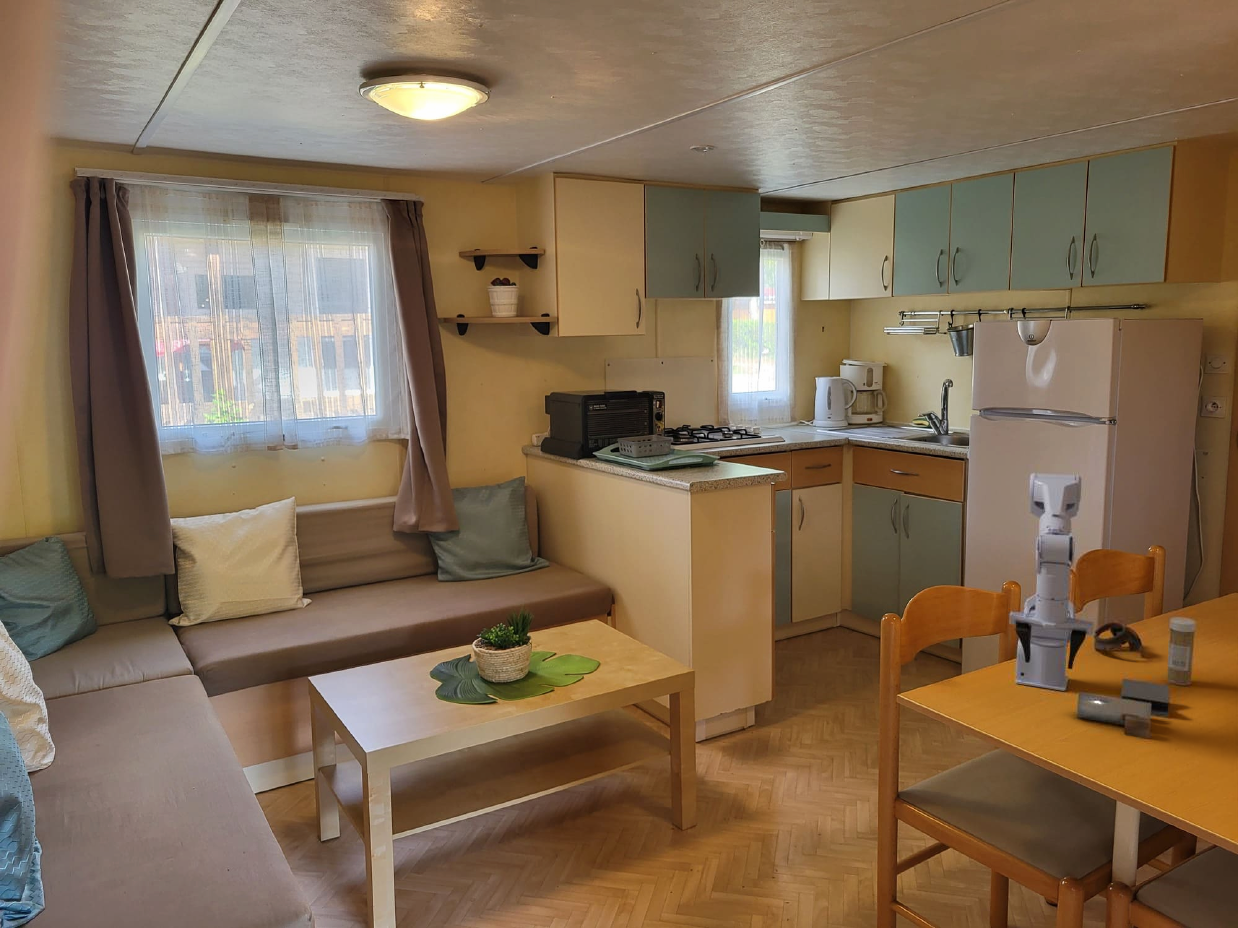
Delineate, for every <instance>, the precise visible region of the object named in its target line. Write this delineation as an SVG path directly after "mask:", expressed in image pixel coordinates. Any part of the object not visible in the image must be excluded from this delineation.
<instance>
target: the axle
mask: <svg viewBox="0 0 1238 928" xmlns="http://www.w3.org/2000/svg"><path fill="white" fill-rule="evenodd" d="M1076 707H1077V710H1076V711H1077V712H1076V718H1078V719H1085V720H1091V721H1096V722H1101V723H1108V724H1113V725H1117V726H1118V725H1120V726H1124V727H1125V716H1126V715H1128V716H1134V717H1140V718H1146V719H1151V716H1152V715H1151V704H1150V703H1144V702H1138V701H1132V700H1126V699H1121V697H1113V696H1106V695H1102V694H1101V695H1100V694H1093V693H1088V692H1082V691H1079V692H1078V698H1077V706H1076Z"/></svg>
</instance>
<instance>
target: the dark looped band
mask: <svg viewBox="0 0 1238 928" xmlns="http://www.w3.org/2000/svg"><path fill="white" fill-rule="evenodd" d="M1108 630H1109V631H1110V633H1111V635H1112V637H1108V638H1102V637H1100V635H1101V634H1103V633H1104V632H1106V631H1108ZM1093 635H1094V636H1093V639H1094V640H1093V641H1094V642H1093V647H1094V650H1095V651H1096V652H1098V651H1099V650H1101V651H1107V650H1108V651H1110V650H1116V649H1117V650H1120V651H1123V647H1122V646H1124V645H1126V644H1127V643H1128V647H1129V650H1130V651H1137V652H1139V653H1140V658H1141V659H1143V658H1145V654H1144V646H1143V643H1142V641H1141V638H1140V636H1139V634H1138V632H1136V630H1135V629H1133V628H1131V627H1129V626H1127V625H1126V623H1124V621H1122V620H1115V621H1109V622H1105V623H1103V624H1101V625H1099V626H1098V627H1097V628H1096V629H1095V630H1094V634H1093Z"/></svg>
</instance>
